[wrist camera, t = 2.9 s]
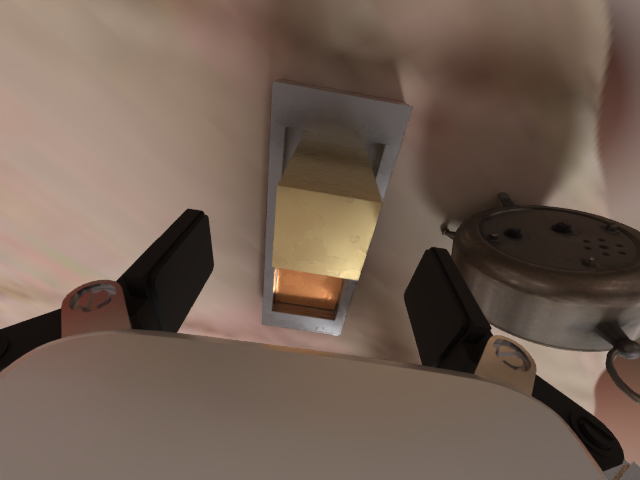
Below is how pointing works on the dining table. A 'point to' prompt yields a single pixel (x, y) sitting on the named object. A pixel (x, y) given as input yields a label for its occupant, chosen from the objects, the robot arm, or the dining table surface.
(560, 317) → the alarm clock
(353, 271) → the brushed gold block
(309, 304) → the divided tray
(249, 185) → the dining table surface
